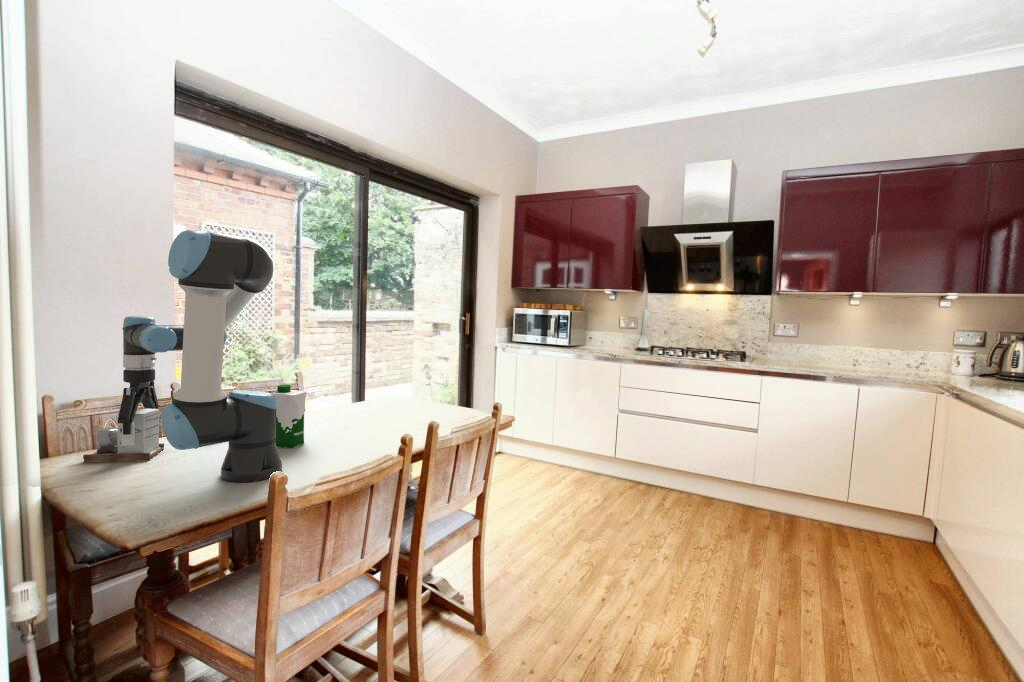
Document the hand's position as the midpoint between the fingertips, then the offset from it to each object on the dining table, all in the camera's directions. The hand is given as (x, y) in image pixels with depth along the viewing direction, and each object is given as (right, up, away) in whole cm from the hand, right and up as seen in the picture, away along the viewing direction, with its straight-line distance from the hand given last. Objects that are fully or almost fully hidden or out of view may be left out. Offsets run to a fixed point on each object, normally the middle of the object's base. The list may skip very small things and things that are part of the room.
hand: (139, 438), depth 145 cm
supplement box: (0, -4, 0) cm, 4 cm away
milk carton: (+36, -6, +19) cm, 41 cm away
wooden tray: (-4, -5, -1) cm, 6 cm away
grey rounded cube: (-8, -4, -2) cm, 9 cm away
